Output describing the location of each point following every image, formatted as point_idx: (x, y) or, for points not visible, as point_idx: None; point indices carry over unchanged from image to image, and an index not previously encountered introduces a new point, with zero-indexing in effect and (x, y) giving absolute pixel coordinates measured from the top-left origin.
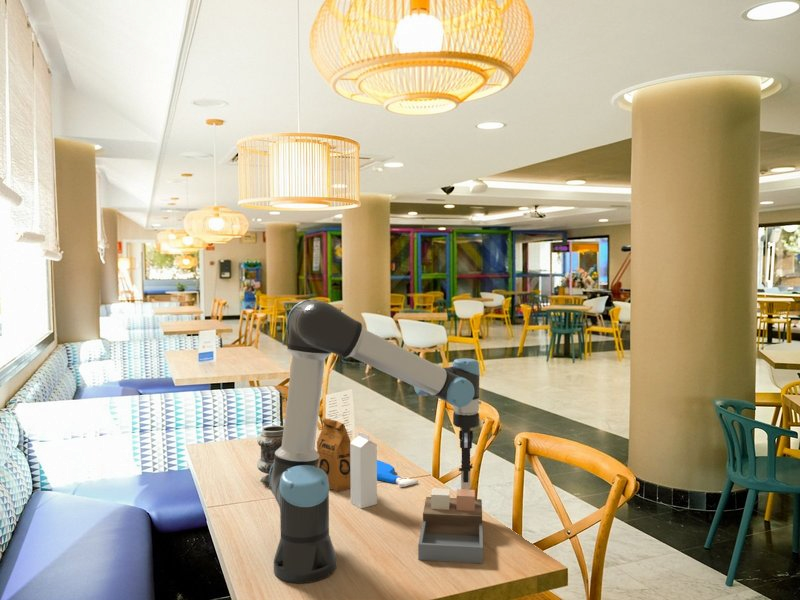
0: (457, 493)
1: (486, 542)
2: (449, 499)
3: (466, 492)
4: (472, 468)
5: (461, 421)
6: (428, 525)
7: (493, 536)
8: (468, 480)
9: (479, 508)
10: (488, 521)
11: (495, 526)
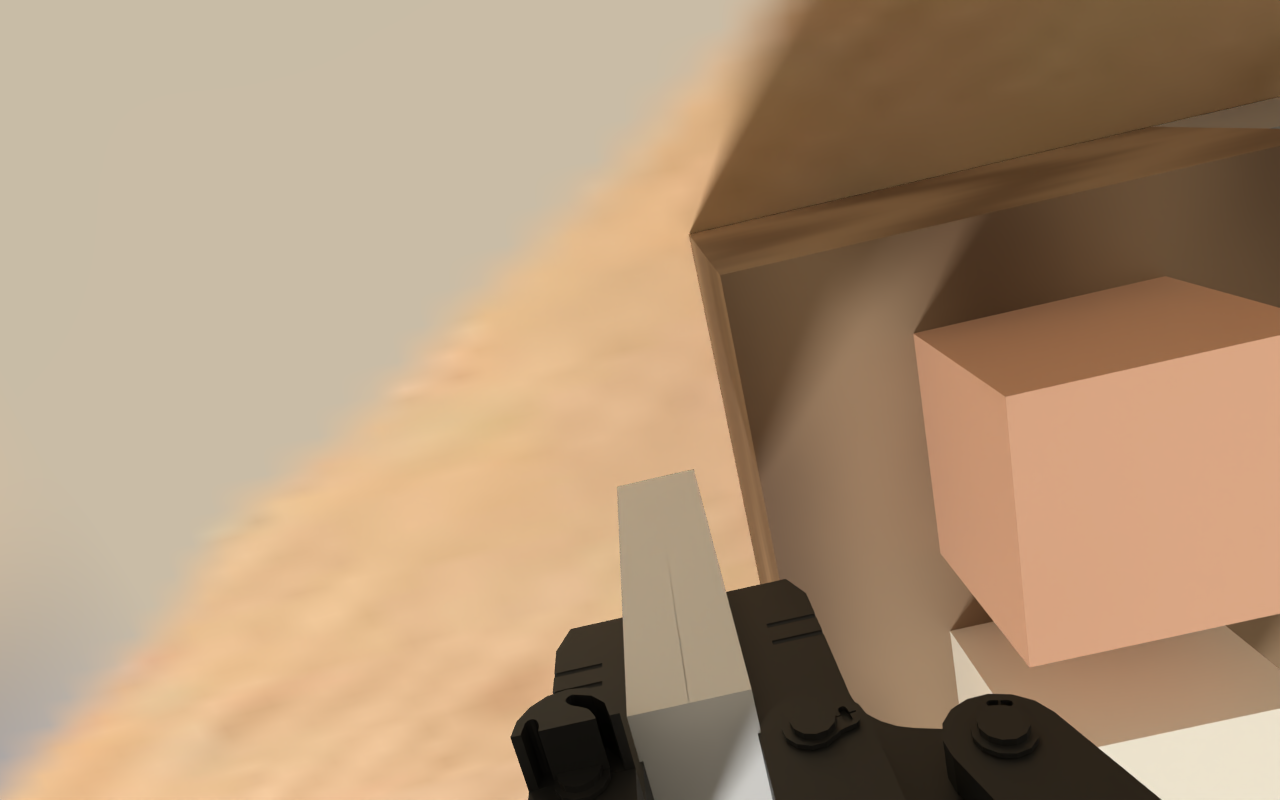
0: (1220, 615)
1: (1241, 59)
2: (1143, 659)
3: (1158, 498)
4: (588, 688)
5: None
6: None
7: (1085, 11)
8: (727, 597)
9: (1074, 229)
10: (707, 148)
11: (819, 39)
